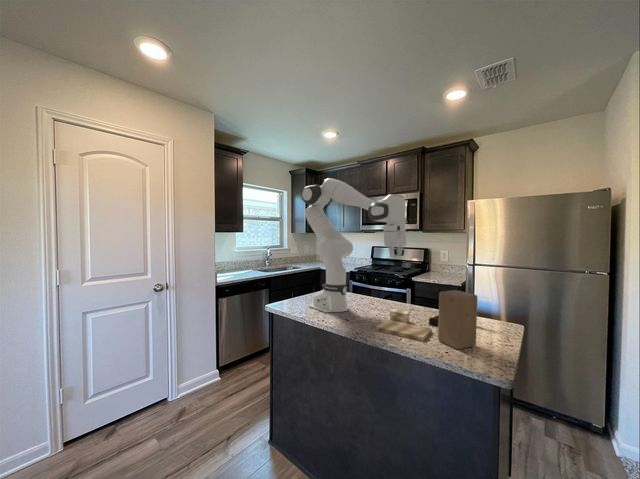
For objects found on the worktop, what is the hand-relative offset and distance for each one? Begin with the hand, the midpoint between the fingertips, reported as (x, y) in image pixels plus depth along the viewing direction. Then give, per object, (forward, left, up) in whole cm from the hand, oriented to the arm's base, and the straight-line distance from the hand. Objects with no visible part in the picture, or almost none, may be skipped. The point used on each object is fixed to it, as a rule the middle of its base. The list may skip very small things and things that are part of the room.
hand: (395, 256), depth 132 cm
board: (+8, -11, -32) cm, 34 cm away
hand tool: (+18, +13, -32) cm, 39 cm away
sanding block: (+2, +1, -32) cm, 32 cm away
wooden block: (+29, -12, -32) cm, 45 cm away
